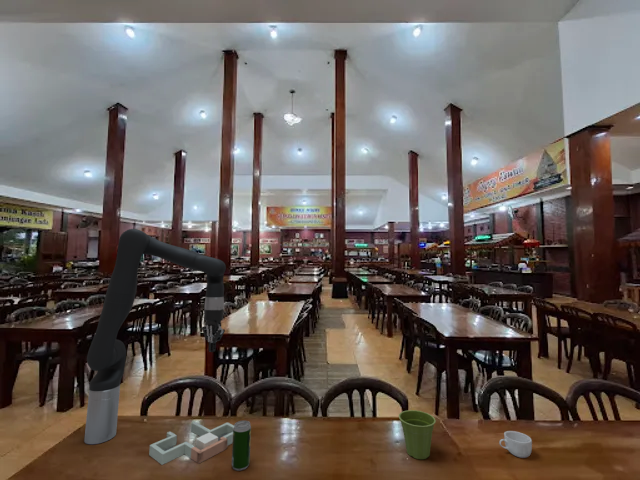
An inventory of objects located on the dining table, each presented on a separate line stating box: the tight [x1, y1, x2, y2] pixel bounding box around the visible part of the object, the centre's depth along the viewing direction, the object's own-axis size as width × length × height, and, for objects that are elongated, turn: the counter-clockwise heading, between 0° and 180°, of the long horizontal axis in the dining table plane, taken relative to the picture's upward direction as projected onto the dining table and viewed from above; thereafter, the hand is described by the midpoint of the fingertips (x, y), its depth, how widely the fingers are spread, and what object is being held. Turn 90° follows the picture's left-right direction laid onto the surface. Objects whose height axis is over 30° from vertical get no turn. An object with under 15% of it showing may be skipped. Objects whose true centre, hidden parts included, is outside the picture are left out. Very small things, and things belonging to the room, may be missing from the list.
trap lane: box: [148, 421, 234, 466], centre depth 104 cm, size 20×25×3 cm
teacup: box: [498, 430, 533, 459], centre depth 101 cm, size 10×8×5 cm
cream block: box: [195, 432, 218, 450], centre depth 100 cm, size 5×5×4 cm
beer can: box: [231, 420, 252, 472], centre depth 94 cm, size 5×5×12 cm
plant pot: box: [398, 409, 437, 460], centre depth 101 cm, size 12×12×11 cm
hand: (212, 351), depth 123 cm, fingers closed
